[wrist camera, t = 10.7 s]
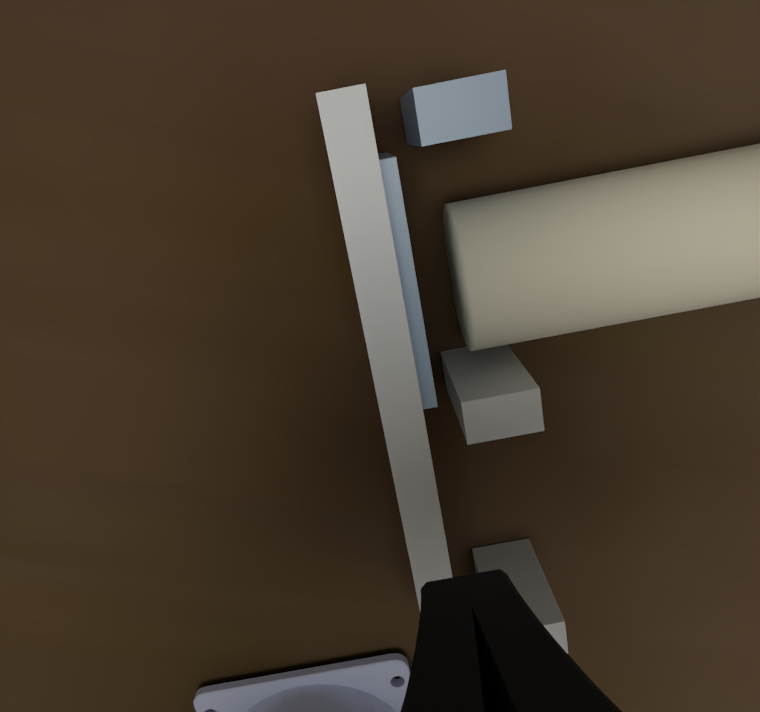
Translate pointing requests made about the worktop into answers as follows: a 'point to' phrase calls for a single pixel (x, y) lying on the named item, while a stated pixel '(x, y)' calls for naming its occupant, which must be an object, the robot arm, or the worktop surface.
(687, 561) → the worktop surface
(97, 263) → the worktop surface
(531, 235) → the tall cream cylinder
